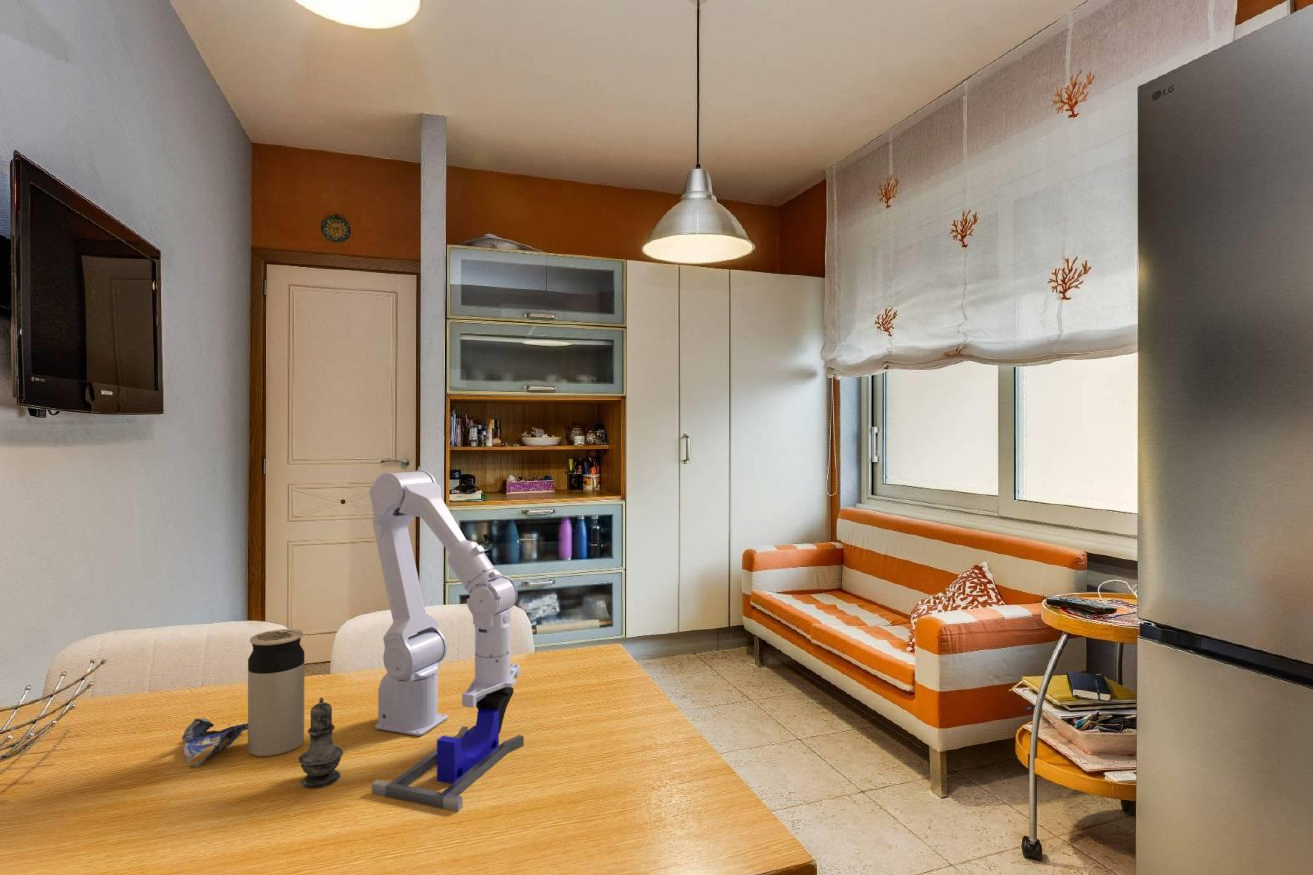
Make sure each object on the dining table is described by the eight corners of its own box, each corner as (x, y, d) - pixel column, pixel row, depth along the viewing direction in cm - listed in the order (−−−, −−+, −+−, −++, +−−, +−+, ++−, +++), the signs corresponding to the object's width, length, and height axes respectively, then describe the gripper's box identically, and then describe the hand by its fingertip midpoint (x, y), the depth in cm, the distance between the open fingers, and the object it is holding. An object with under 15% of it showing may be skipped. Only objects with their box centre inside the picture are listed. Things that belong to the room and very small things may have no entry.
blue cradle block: (474, 743, 110) (474, 707, 110) (498, 747, 109) (498, 710, 109) (428, 779, 99) (428, 738, 99) (454, 784, 97) (454, 742, 97)
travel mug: (264, 762, 103) (264, 645, 103) (237, 749, 108) (238, 637, 108) (314, 742, 110) (314, 633, 110) (287, 731, 114) (287, 625, 114)
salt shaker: (298, 793, 95) (298, 708, 95) (298, 774, 100) (298, 693, 100) (344, 783, 97) (344, 700, 97) (342, 765, 103) (342, 687, 103)
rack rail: (371, 793, 95) (371, 783, 95) (456, 733, 114) (456, 724, 114) (458, 811, 90) (458, 800, 90) (531, 745, 109) (531, 736, 109)
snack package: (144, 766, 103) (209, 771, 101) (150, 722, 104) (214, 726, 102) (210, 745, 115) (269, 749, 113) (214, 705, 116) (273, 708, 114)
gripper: (490, 669, 103) (489, 757, 103) (535, 641, 117) (535, 719, 117) (450, 664, 105) (450, 750, 105) (499, 637, 119) (499, 714, 119)
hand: (492, 734), depth 111 cm, fingers closed
